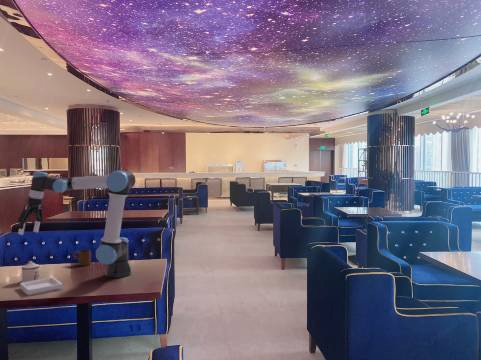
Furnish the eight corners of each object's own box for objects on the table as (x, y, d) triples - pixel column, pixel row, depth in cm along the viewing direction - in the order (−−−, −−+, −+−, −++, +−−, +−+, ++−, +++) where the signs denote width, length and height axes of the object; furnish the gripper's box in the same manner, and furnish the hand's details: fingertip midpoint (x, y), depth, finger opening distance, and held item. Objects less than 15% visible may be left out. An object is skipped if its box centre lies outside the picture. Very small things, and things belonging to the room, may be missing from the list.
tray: (62, 289, 216) (62, 283, 216) (28, 295, 205) (28, 290, 205) (53, 282, 229) (53, 277, 229) (20, 288, 218) (20, 282, 218)
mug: (70, 266, 267) (70, 252, 267) (74, 263, 274) (74, 249, 274) (88, 266, 268) (88, 252, 267) (92, 263, 275) (92, 249, 275)
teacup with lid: (37, 283, 227) (36, 263, 227) (19, 284, 225) (19, 263, 225) (42, 277, 239) (42, 258, 239) (26, 278, 237) (25, 259, 237)
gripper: (42, 196, 247) (35, 229, 247) (15, 196, 222) (7, 233, 222) (53, 198, 246) (46, 232, 246) (27, 199, 222) (19, 236, 221)
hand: (28, 233), depth 234 cm, fingers open, 13 cm apart
